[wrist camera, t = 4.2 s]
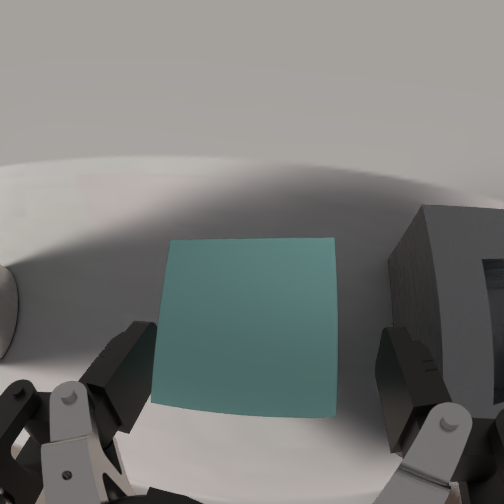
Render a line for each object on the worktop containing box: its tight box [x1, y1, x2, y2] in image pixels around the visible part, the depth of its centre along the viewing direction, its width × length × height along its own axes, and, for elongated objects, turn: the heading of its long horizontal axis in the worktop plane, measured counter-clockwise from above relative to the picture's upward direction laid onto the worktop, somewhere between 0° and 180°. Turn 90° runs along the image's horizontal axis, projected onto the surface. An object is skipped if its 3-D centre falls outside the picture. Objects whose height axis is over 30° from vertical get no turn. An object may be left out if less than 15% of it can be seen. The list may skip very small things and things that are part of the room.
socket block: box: [388, 205, 504, 458], centre depth 11 cm, size 11×11×6 cm
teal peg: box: [151, 238, 338, 418], centre depth 11 cm, size 4×4×10 cm
